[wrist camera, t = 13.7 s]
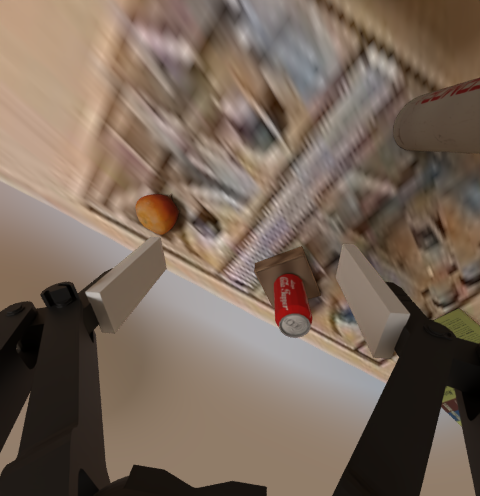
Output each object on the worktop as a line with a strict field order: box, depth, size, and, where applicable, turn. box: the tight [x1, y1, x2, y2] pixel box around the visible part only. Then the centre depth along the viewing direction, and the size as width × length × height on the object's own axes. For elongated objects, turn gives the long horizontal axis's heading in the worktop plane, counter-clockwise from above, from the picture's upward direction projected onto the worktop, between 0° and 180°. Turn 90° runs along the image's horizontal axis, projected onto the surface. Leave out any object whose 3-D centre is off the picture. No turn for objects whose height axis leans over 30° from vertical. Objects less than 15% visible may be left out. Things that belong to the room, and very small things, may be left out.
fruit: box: [136, 194, 180, 235], centre depth 44 cm, size 8×8×8 cm
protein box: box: [434, 308, 480, 426], centre depth 46 cm, size 10×15×16 cm
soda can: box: [274, 274, 312, 338], centre depth 41 cm, size 6×6×12 cm
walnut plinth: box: [254, 246, 321, 309], centre depth 49 cm, size 11×11×4 cm
